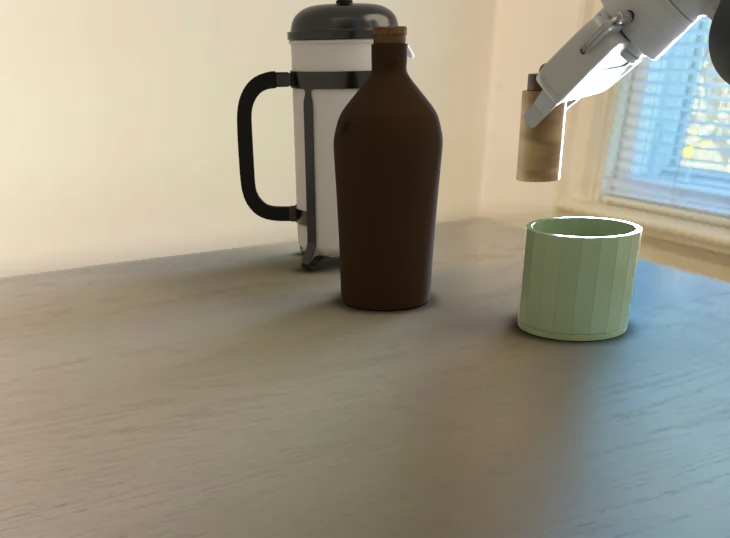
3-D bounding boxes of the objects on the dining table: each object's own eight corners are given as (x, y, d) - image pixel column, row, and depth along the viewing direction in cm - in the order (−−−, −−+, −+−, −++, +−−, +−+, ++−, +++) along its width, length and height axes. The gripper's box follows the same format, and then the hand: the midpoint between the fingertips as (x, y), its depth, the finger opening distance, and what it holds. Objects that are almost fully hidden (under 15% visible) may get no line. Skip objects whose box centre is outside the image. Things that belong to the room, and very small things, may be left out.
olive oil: (413, 317, 88) (422, 25, 75) (318, 306, 92) (312, 27, 79) (450, 292, 96) (463, 25, 83) (360, 283, 100) (361, 27, 88)
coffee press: (342, 242, 120) (340, -19, 105) (431, 259, 110) (442, -28, 95) (241, 263, 110) (223, -23, 95) (328, 284, 100) (323, -32, 85)
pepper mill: (556, 175, 102) (567, 61, 96) (562, 181, 98) (573, 62, 92) (514, 176, 103) (522, 63, 97) (517, 182, 98) (526, 64, 93)
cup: (616, 311, 88) (630, 216, 84) (636, 342, 79) (653, 237, 75) (513, 310, 89) (521, 216, 85) (522, 340, 80) (531, 237, 76)
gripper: (639, 39, 81) (526, 153, 90) (678, 36, 96) (578, 133, 105) (596, -16, 81) (486, 104, 89) (641, -10, 96) (544, 92, 105)
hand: (536, 120), depth 98 cm, fingers closed on pepper mill, 5 cm apart
